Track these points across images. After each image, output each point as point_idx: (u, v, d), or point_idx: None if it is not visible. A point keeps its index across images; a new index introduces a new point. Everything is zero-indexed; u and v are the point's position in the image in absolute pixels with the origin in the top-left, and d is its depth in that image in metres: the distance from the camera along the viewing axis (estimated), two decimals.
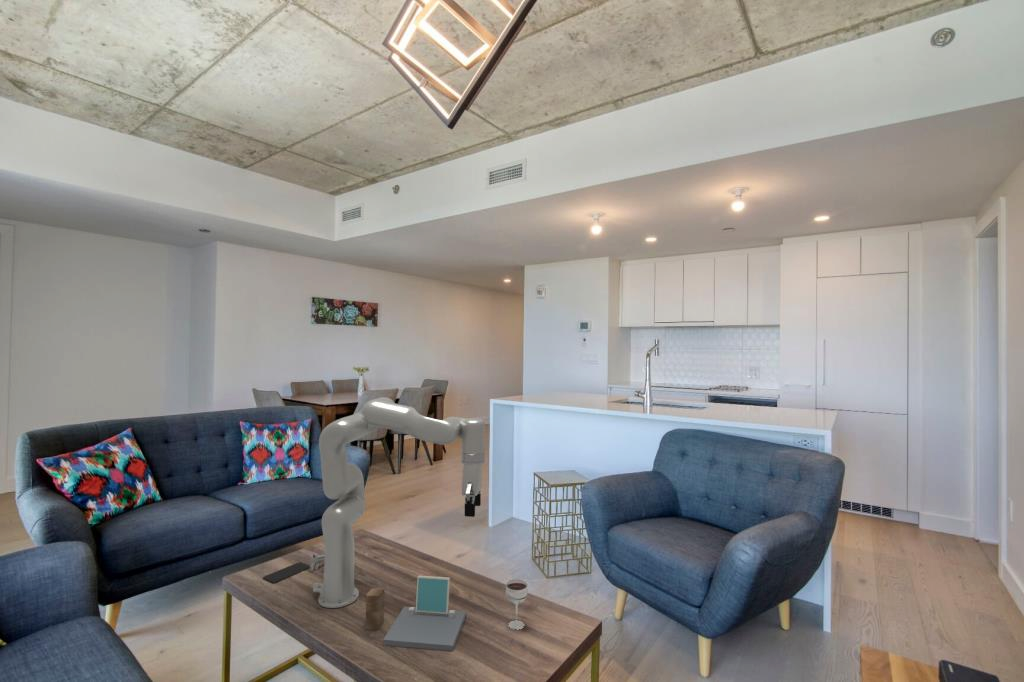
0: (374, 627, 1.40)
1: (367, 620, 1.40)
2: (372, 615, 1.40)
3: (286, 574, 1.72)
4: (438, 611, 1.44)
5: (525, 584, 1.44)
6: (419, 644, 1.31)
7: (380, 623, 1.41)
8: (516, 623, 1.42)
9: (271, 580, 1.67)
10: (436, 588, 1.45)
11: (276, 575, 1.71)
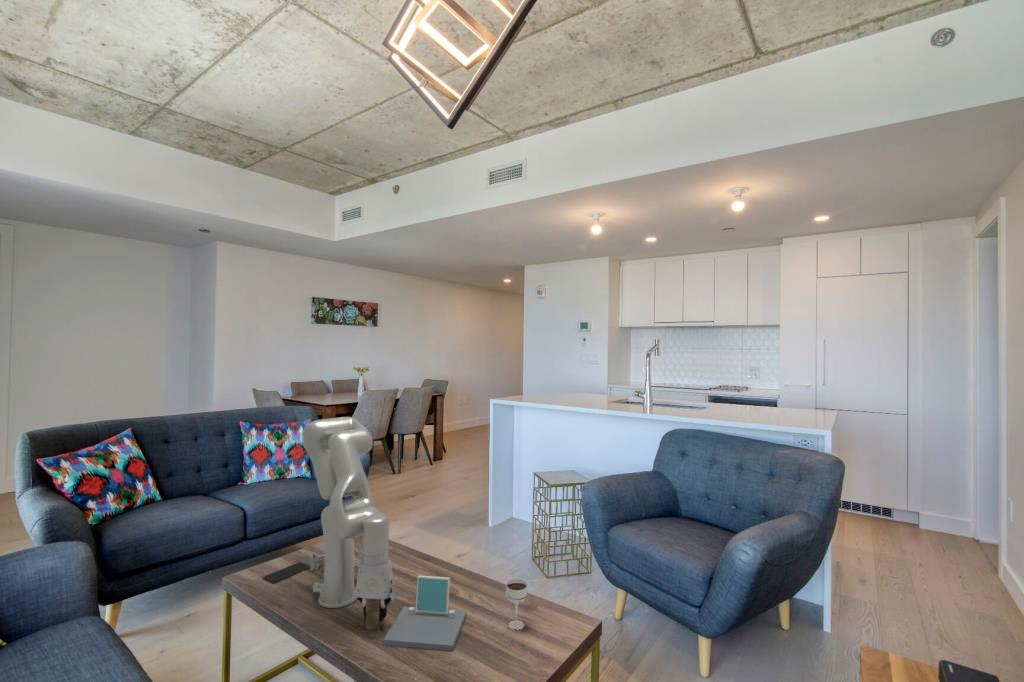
0: (374, 627, 1.40)
1: (367, 620, 1.40)
2: (372, 615, 1.40)
3: (286, 574, 1.72)
4: (438, 611, 1.44)
5: (525, 584, 1.44)
6: (419, 644, 1.31)
7: (380, 623, 1.41)
8: (516, 623, 1.42)
9: (271, 580, 1.67)
10: (436, 588, 1.45)
11: (276, 574, 1.71)
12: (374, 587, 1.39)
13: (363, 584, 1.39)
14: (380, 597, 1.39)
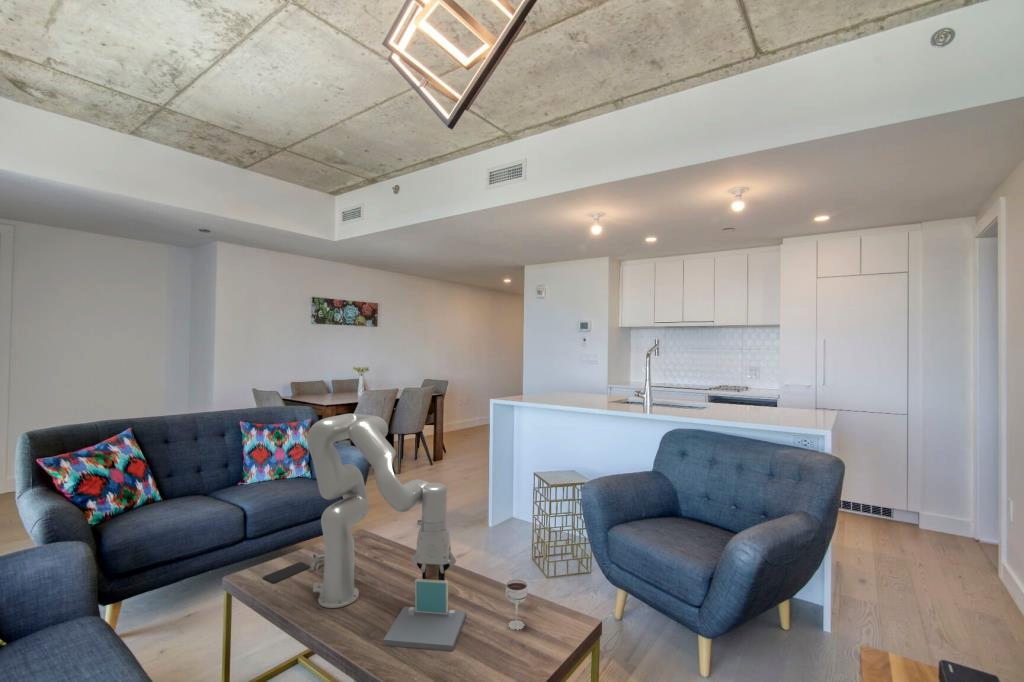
0: None
1: None
2: (432, 579, 1.45)
3: (286, 574, 1.72)
4: (438, 611, 1.44)
5: (525, 584, 1.44)
6: (419, 644, 1.31)
7: None
8: (516, 623, 1.42)
9: (271, 580, 1.68)
10: (435, 591, 1.44)
11: (276, 574, 1.71)
12: (434, 553, 1.44)
13: (423, 550, 1.44)
14: (440, 562, 1.44)
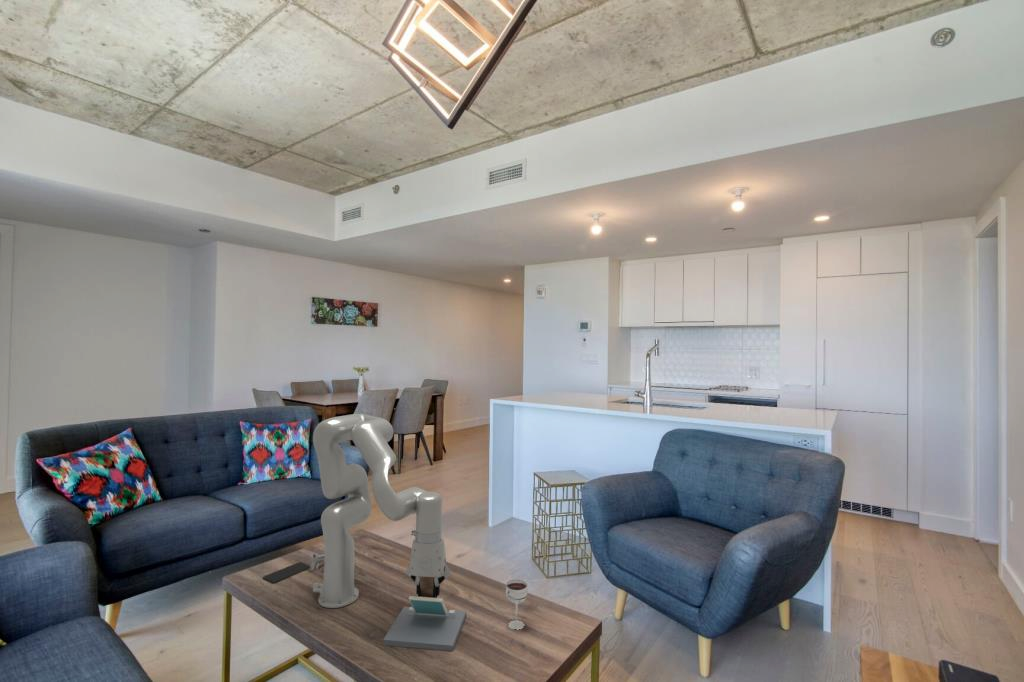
0: None
1: (422, 596, 1.41)
2: (427, 591, 1.40)
3: (286, 574, 1.72)
4: (438, 614, 1.44)
5: (525, 584, 1.44)
6: (419, 644, 1.31)
7: None
8: (516, 623, 1.42)
9: (271, 580, 1.68)
10: (431, 605, 1.40)
11: (276, 574, 1.71)
12: (428, 565, 1.38)
13: (417, 562, 1.39)
14: (434, 575, 1.38)
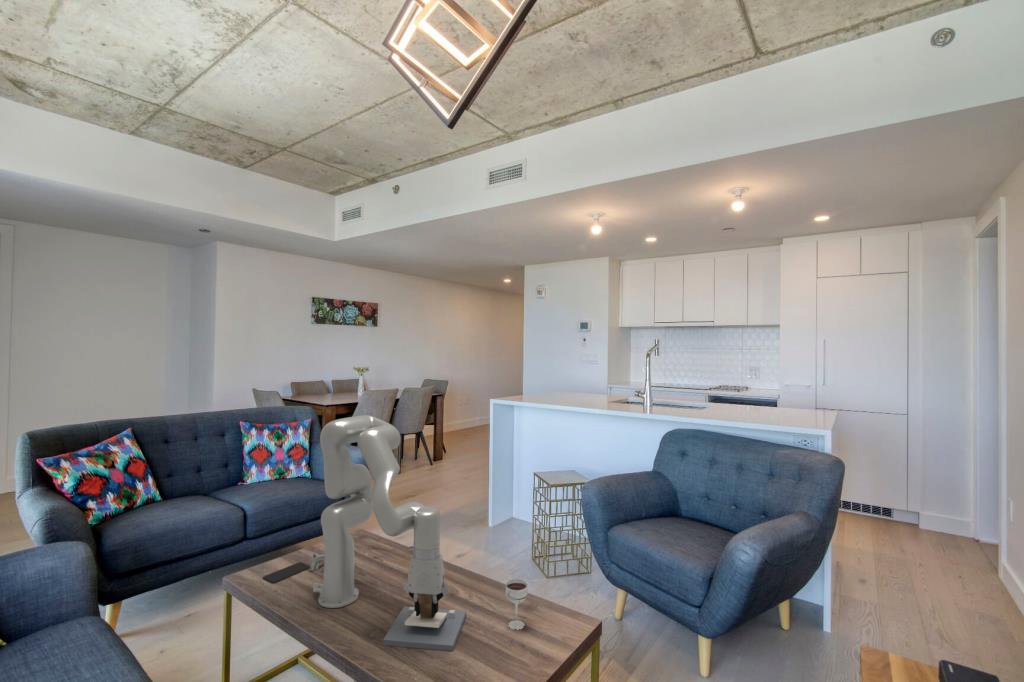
0: (429, 616, 1.39)
1: (421, 610, 1.39)
2: (426, 606, 1.38)
3: (286, 574, 1.72)
4: None
5: (525, 584, 1.44)
6: (419, 644, 1.31)
7: None
8: (516, 623, 1.42)
9: (271, 579, 1.68)
10: None
11: (276, 574, 1.71)
12: (426, 582, 1.36)
13: (415, 579, 1.36)
14: (433, 592, 1.36)
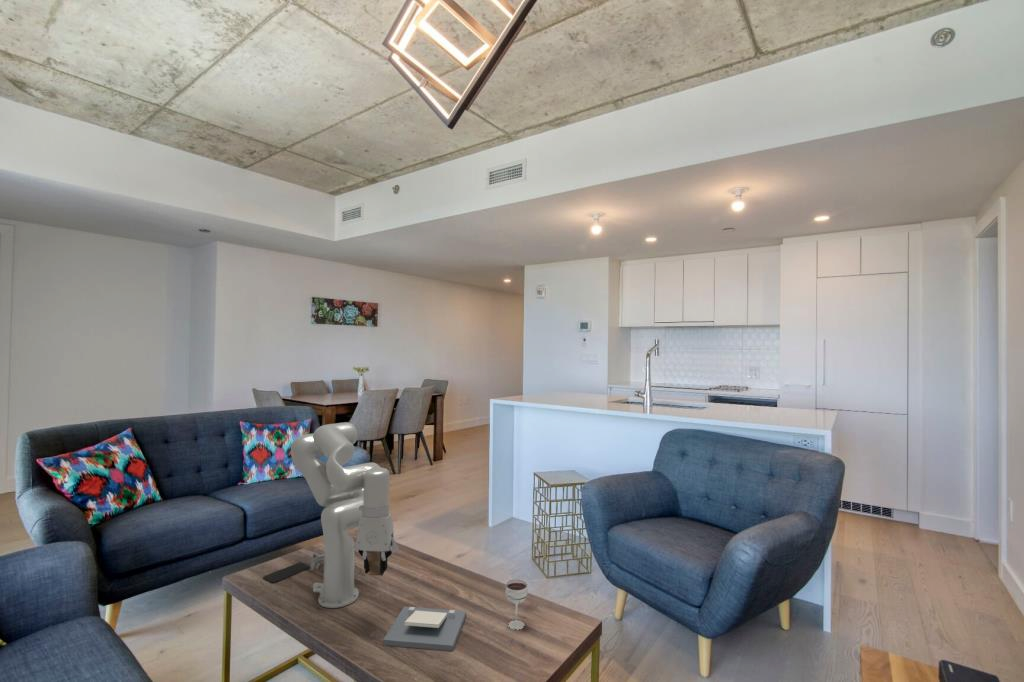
0: (378, 573, 1.42)
1: (370, 568, 1.42)
2: (375, 563, 1.41)
3: (286, 574, 1.72)
4: None
5: (525, 584, 1.44)
6: (419, 644, 1.31)
7: None
8: (516, 623, 1.42)
9: (270, 579, 1.68)
10: None
11: (276, 574, 1.71)
12: (375, 539, 1.39)
13: (364, 536, 1.40)
14: (381, 549, 1.39)
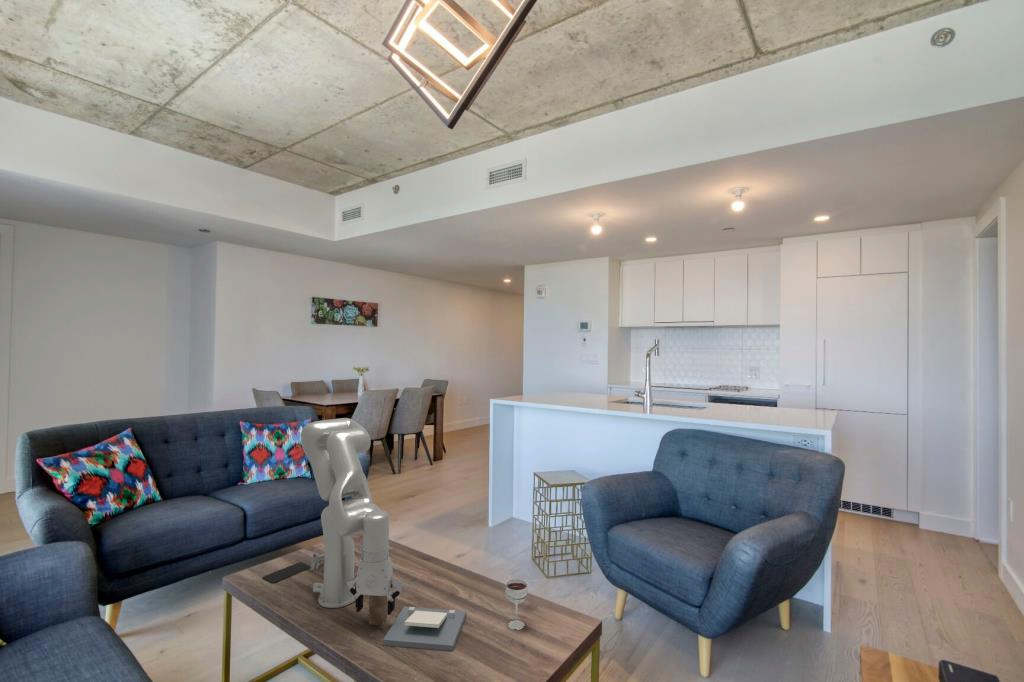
0: (377, 622, 1.42)
1: (370, 615, 1.42)
2: (375, 610, 1.42)
3: (286, 574, 1.72)
4: None
5: (525, 584, 1.44)
6: (419, 644, 1.31)
7: (383, 618, 1.43)
8: (516, 623, 1.42)
9: (270, 580, 1.68)
10: None
11: (276, 574, 1.71)
12: (374, 584, 1.39)
13: (363, 581, 1.39)
14: (380, 594, 1.39)
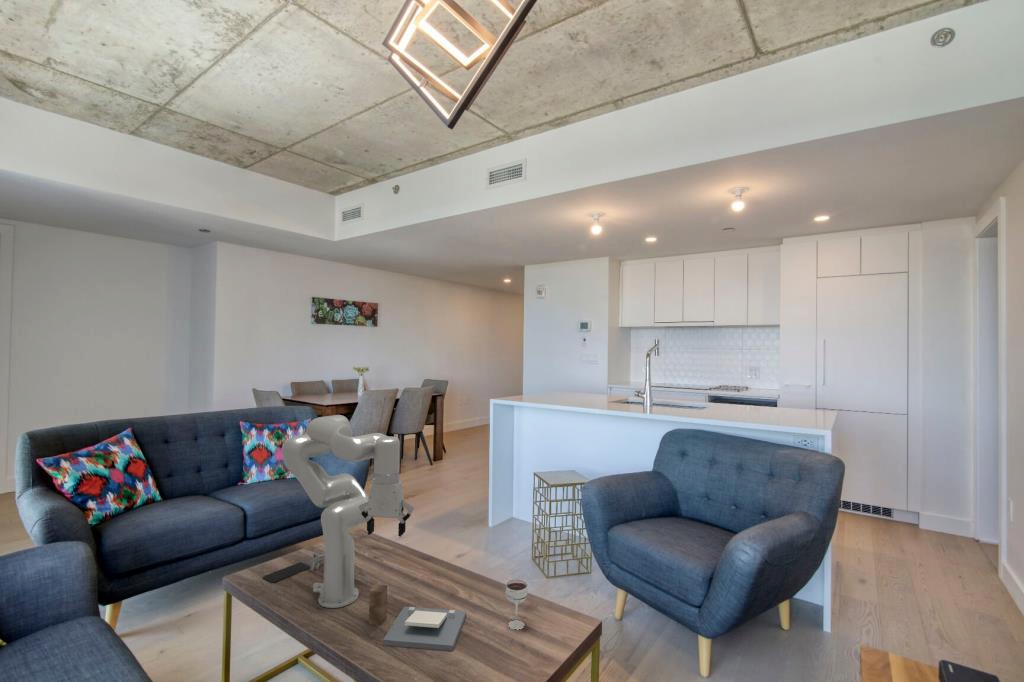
0: (377, 622, 1.42)
1: (370, 615, 1.42)
2: (376, 610, 1.42)
3: (286, 574, 1.72)
4: None
5: (525, 584, 1.44)
6: (419, 644, 1.31)
7: (383, 618, 1.43)
8: (516, 623, 1.42)
9: (270, 579, 1.68)
10: None
11: (276, 574, 1.71)
12: (385, 505, 1.42)
13: (375, 503, 1.42)
14: (391, 515, 1.42)
